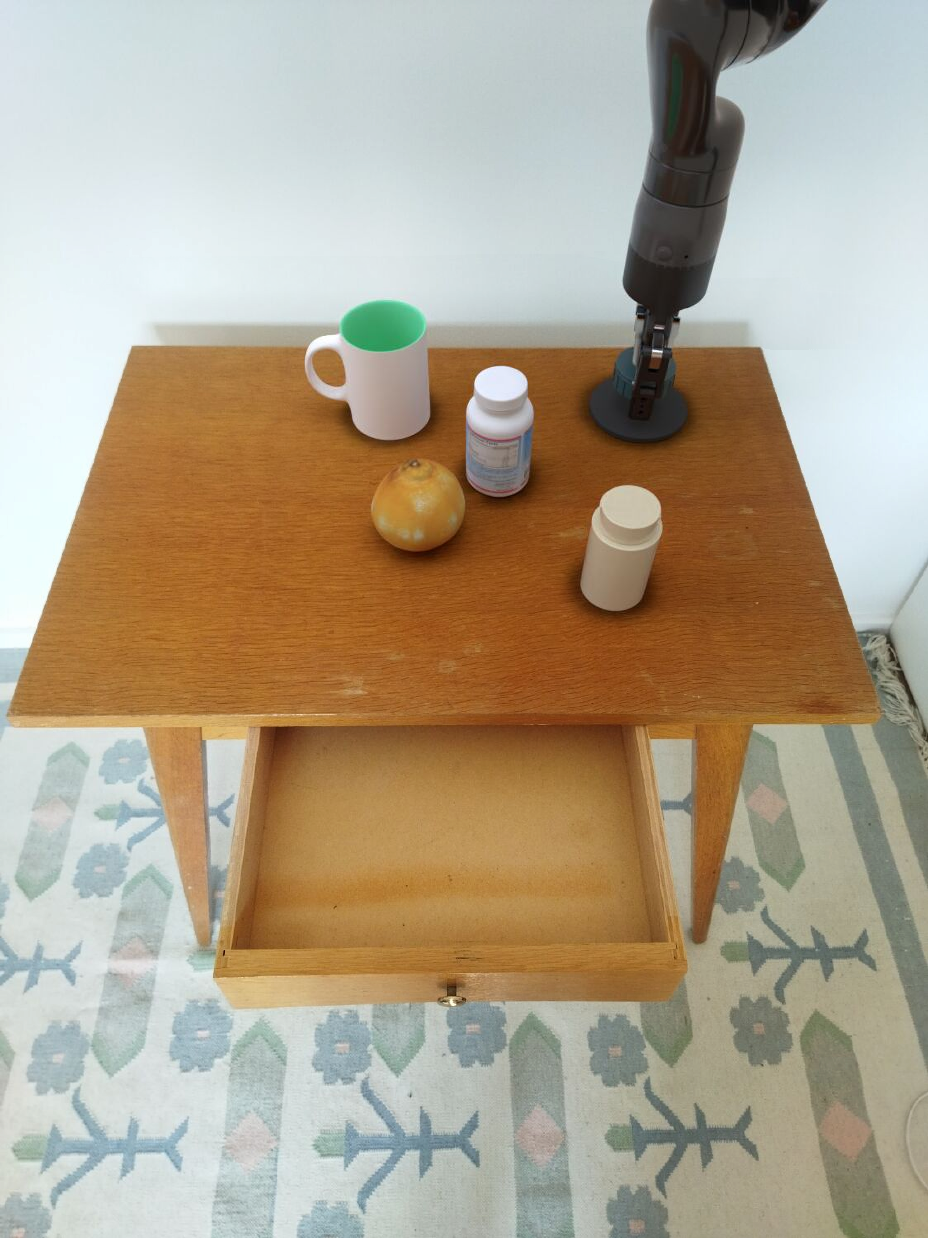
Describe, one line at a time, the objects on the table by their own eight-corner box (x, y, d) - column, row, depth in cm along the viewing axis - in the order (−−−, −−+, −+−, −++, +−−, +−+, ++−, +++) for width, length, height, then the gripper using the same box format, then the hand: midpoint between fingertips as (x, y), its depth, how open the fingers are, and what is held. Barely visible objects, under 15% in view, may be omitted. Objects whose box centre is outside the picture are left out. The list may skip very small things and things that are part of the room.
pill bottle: (496, 446, 82) (500, 350, 73) (541, 477, 79) (551, 382, 70) (452, 476, 79) (451, 381, 70) (497, 509, 77) (502, 415, 68)
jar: (646, 565, 73) (668, 484, 65) (643, 615, 70) (666, 537, 62) (583, 556, 73) (597, 476, 65) (577, 606, 70) (592, 528, 62)
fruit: (397, 461, 77) (381, 435, 69) (479, 485, 76) (473, 462, 68) (370, 543, 77) (351, 527, 69) (452, 569, 76) (442, 556, 68)
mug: (310, 441, 82) (292, 354, 74) (316, 389, 87) (300, 301, 78) (430, 439, 82) (426, 351, 74) (430, 386, 87) (426, 298, 79)
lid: (618, 359, 84) (622, 339, 83) (676, 371, 83) (682, 352, 81) (605, 395, 81) (609, 376, 79) (666, 408, 80) (671, 389, 78)
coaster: (686, 383, 87) (687, 379, 87) (686, 448, 82) (687, 443, 81) (592, 374, 88) (593, 369, 88) (585, 437, 83) (586, 432, 82)
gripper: (720, 291, 65) (675, 449, 79) (717, 199, 74) (677, 356, 87) (626, 282, 66) (598, 440, 80) (633, 192, 74) (607, 349, 88)
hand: (639, 396), depth 84 cm, fingers closed on lid, 6 cm apart
